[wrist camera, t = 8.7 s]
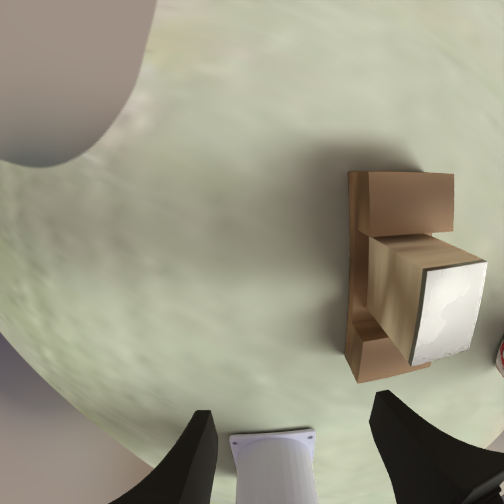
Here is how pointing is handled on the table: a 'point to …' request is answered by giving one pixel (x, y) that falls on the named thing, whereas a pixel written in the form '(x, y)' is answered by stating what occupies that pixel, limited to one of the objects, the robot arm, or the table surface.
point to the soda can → (500, 359)
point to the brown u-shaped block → (387, 224)
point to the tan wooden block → (424, 294)
